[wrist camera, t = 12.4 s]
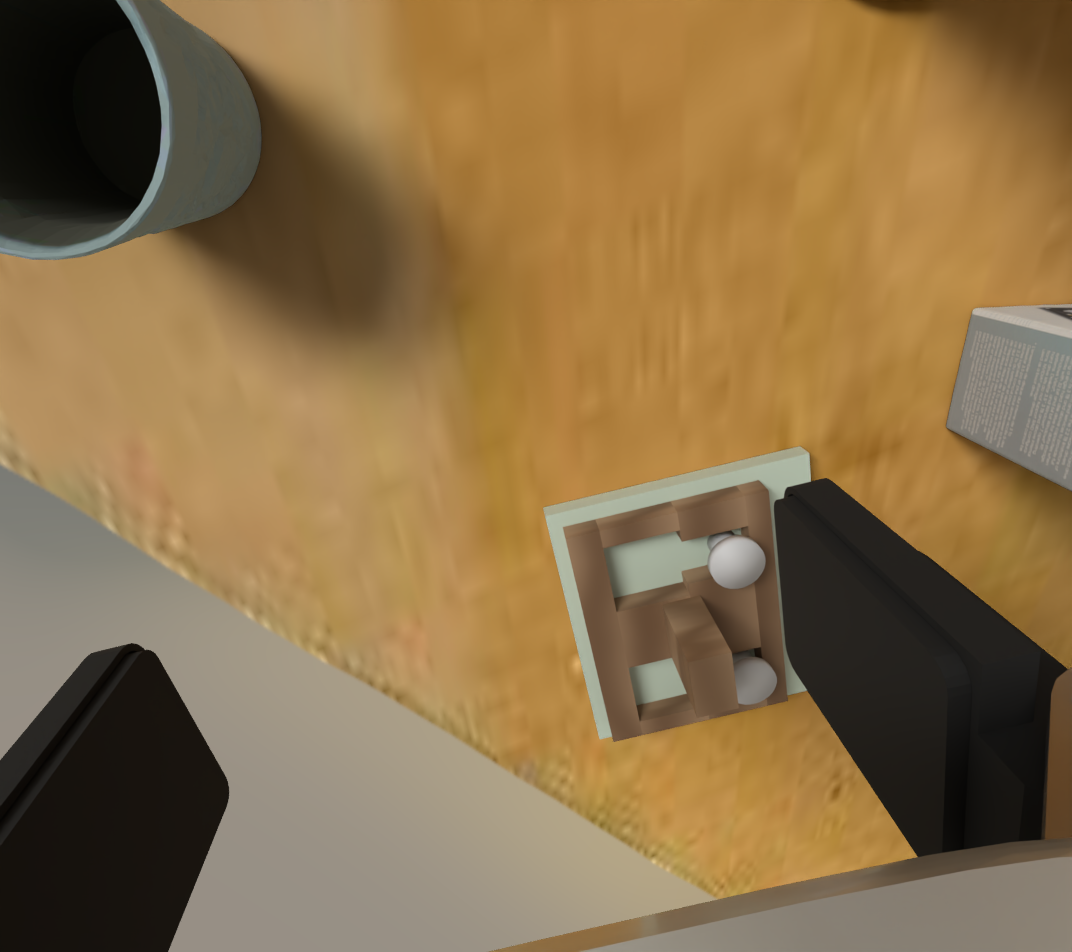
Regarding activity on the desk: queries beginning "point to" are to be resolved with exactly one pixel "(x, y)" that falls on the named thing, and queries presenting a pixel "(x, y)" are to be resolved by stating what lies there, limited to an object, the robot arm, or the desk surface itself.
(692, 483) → the board
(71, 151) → the blue-grey cup
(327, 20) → the desk surface
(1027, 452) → the hard drive box
